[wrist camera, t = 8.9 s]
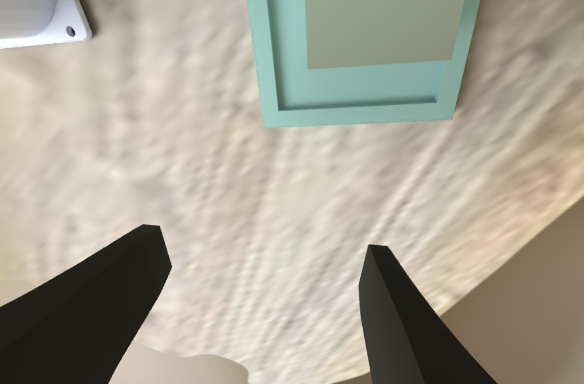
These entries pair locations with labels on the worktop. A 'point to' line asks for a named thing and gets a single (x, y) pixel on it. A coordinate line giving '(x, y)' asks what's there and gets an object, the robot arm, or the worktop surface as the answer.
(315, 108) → the tray
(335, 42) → the tea tin
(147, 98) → the worktop surface
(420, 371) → the robot arm
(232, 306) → the worktop surface
